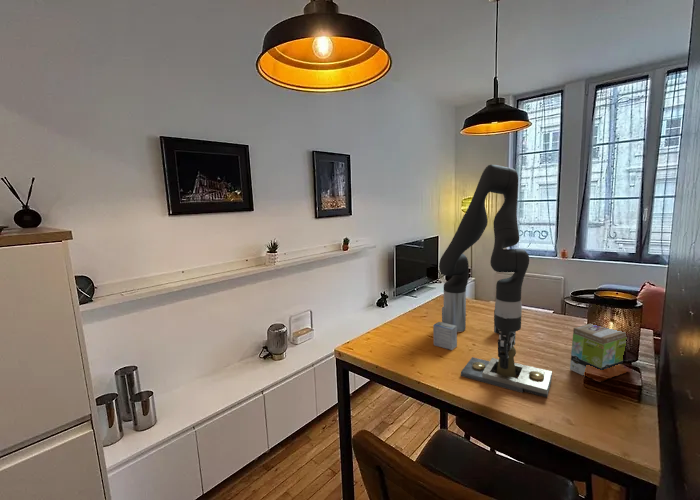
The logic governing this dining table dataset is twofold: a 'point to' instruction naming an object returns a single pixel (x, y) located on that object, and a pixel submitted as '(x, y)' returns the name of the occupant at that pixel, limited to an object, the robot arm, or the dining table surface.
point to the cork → (511, 365)
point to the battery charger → (495, 327)
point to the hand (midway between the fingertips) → (506, 363)
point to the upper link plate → (522, 378)
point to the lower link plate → (476, 370)
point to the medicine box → (445, 335)
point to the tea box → (596, 347)
